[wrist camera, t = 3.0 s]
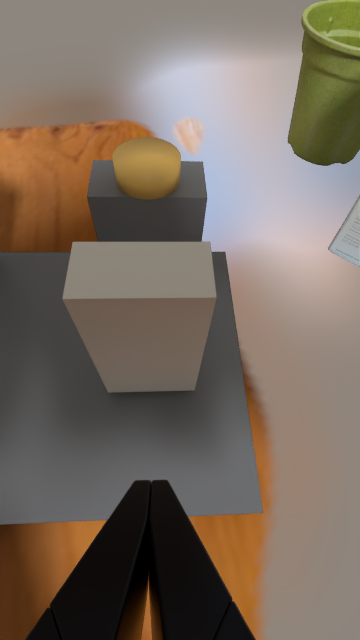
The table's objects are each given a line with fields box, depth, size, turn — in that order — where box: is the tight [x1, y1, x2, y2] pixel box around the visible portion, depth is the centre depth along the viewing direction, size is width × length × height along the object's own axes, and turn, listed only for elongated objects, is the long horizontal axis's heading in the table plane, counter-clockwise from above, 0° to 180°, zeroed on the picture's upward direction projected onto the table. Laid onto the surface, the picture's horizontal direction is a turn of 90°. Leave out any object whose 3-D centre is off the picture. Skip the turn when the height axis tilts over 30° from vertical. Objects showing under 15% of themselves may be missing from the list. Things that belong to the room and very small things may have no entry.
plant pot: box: [288, 0, 360, 166], centre depth 25 cm, size 9×9×9 cm
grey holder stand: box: [0, 137, 263, 525], centre depth 14 cm, size 14×19×8 cm
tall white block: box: [62, 242, 217, 393], centre depth 12 cm, size 2×4×8 cm, turn 92°
